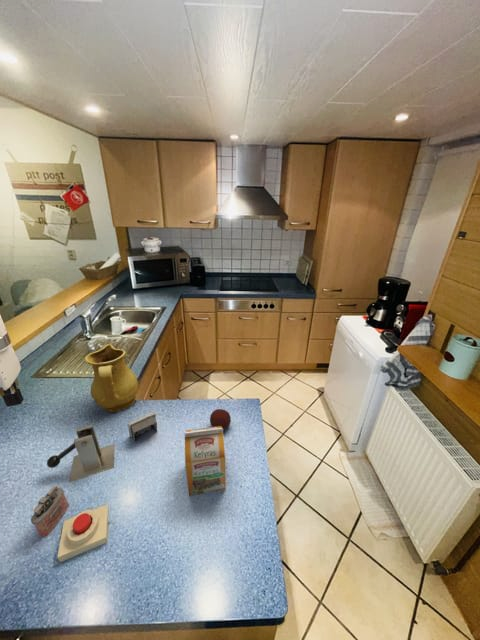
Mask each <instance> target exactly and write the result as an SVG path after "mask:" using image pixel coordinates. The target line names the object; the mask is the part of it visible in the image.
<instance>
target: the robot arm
mask: <svg viewBox="0 0 480 640" xmlns="http://www.w3.org/2000/svg"><path fill="white" fill-rule="evenodd" d="M12 345H13V342H12V340H11V338H10V336H9V333H8V331H7V327H6V326H5V323H4V321H3V318H2V315H1V314H0V398H2V400H3V402H4V404H5V406H6V407H13V406H18V405H22V403H23V401H24V396H23V394H22V392H21V389H20V383H19V381H18V376H19V374H20V373H21V369H22V366H21V363H20V361H19V360H20V359H19V358H18V355H17V354H16V352H15V350H14V348H13V346H12Z"/></svg>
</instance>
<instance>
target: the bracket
mask: <svg viewBox="0 0 480 640" xmlns="http://www.w3.org/2000/svg"><path fill="white" fill-rule="evenodd" d="M86 430H87V431H89V432H91V433H93V434H92V435H89V436H85V437H82V438H78V436H79V435H80V434H82V433H83V432H84V431H86ZM75 432H76V434H77V438H75V439H73V443H74V444H75V447H76V448H75V450H76V452H77V455H73V458H72V464H71V469H70V473H69V480H68V483H71V482H74V481H78V480H81V479H85V478H87V477H90V476H93V475H97V474H100V473H102V472H105V471H108V470H111V469H114V468H115V454H116V453H115V451H116V450H115V449H116V444H115V443H114V444H110V445H107V446H104V447H103V446H102V447H101V446H100V442H99V438H98V437H97V433H96V430H95V427H94V424H90V425H86V426H83V427H79V428H76V429H75Z"/></svg>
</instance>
